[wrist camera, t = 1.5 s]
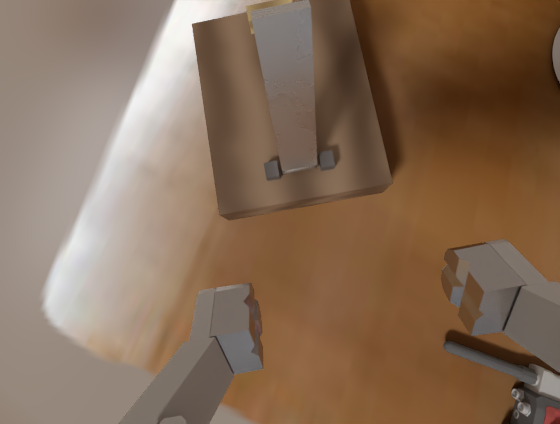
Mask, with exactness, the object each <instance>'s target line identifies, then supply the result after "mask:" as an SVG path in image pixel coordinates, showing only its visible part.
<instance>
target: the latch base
mask: <svg viewBox="0 0 560 424" xmlns="http://www.w3.org/2000/svg"><path fill="white" fill-rule="evenodd" d="M287 3H292V0H274V1H269V2H264V3H259V4H255V5H250V6H246V9H247V13H242V14H237V15H232V16H228V17H223V18H218V19H213V20H208V21H204V22H199V23H194V24H192V27H193V34H194V41H195V48H196V55H197V62H198V69H199V76H200V83H201V90H202V97H203V104H204V111H205V118H206V125H207V132H208V139H209V146H210V153H211V160H212V167H213V174H214V181H215V188H216V195H217V202H218V209H219V215H221V216H222V217H224V218H226V219H228V220H234V219H239V218H245V217H250V216H256V215H261V214H267V213H272V212H278V211H283V210H289V209H294V208H300V207H305V206H311V205H316V204H322V203H327V202H333V201H338V200H344V199H349V198H355V197H360V196H366V195H371V194H377V193H382V192H383V191H384V190H386V189H387V188H388V187H389V186H390V185H391V184H392V183H393V182H392V178H391V174H390V169H389V165H388V161H387V157H386V152H385V148H384V144H383V140H382V135H381V131H380V127H379V123H378V118H377V114H376V110H375V106H374V101H373V97H372V93H371V89H370V84H369V80H368V76H367V72H366V67H365V63H364V59H363V55H362V51H361V46H360V42H359V38H358V34H357V29H356V25H355V21H354V17H353V12H352V8H351V4H350V0H309V3H310V6H311V18H312V44H313V69H314V94H315V119H316V144H317V168H313V169H307V170H302V171H297V172H291V173H286V174H283V173H282V168H281V163H280V158H279V153H278V148H277V143H276V138H275V134H274V129H273V124H272V119H271V114H270V109H269V104H268V99H267V94H266V89H265V84H264V79H263V74H262V69H261V64H260V59H259V54H258V49H257V44H256V39H255V34H254V29H253V24H252V19H251V13H250V11H254V10H259V9H263V8H268V7H273V6H278V5H283V4H287Z"/></svg>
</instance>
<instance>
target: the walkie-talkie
mask: <svg viewBox="0 0 560 424" xmlns="http://www.w3.org/2000/svg"><path fill="white" fill-rule="evenodd" d="M444 348H445V350H446V351H447V352H449V353H452V354H455V355H458V356H460V357H463V358H466V359H468V360H471V361H474V362H477V363H479V364H482V365H485V366H487V367H490V368H493V369H496V370H498V371H501V372H504V373H506V374H509V375H512V376H515V377H516V378H517V379H518V380H520V381H522V382H525V383H524V387H520V388H518V389H515V388H514V389H513V390H512V392H511V394H512V397H513V398H515V399H516V401H515V405H514V409H513V413H512V417H511V421H510V424H560V375H557V374H555V373H552V372H551V371H549V370H547V369H545V368H542V367H540V366H538V365H535V364H532V363H530V364H529V367H525V366H522V365H518V366H517V365H515V364H512V363H509V362H507V361H504V360H501V359H498V358H496V357H493V356H490V355H488V354H485V353H482V352H480V351H477V350H474V349H471V348H469V347H466V346H463V345H461V344H458V343H455V342H452V341H446V342H445V343H444Z"/></svg>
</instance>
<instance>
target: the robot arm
mask: <svg viewBox="0 0 560 424" xmlns="http://www.w3.org/2000/svg"><path fill="white" fill-rule="evenodd" d="M552 58H553V65H554V70H555V73H556V76H557V78H558V80H559V82H560V28H559V30H558V31H557V34H556V36H555V39H554V43H553V50H552ZM444 260H445V261H446V263H447V265H446V266H445V268H444V269H443V270H442V274H441V281H442V287H443V290H444V292H445V294H446V296H447V298H448V300H449V301H450V302H451V303H453V304H454V305H456V306H458V307H459V313H458V316H459V318H460V319H461V321H462V322H463V324H464V325H465V327H466V329H467V330H468V332H469V333H470V335H471V336H474V335H481V334H489V333H496V332H503V333H504V334H505V335H506V336H508V337H509V338H511V339H512V340H514V341H515V342H516V343H518V344H519V345H521V346H522V347H523V348H525V349H526V350H528V351H529V352H531V353H532V354H533V355H535V356H536V357H538V358H539V359H541V360H542V361H543V362H545V363H546V364H548V365H549V366H551V367H552V368H553V369H555V370H556V371H558V372H559V373H560V283H558V282H555V281H553V282H548V281H547V280H546V279H545V278H544V277H543V276H542V275H541V274H540V273H539V272H538V271H537V270H536V269H535V268H534V267H533V266H532V265H531V264H530V263H529V262H528V261H527V260H526V259H525V258H524V257H523V256H522V255H521V254H520V253H519V252H518V251H517V250H516V249H515V248H514V247H513V245H512V244H511V243H510V242H508V241H507V240H504V239H501V240H495V241H489V242H484V243H477V244H472V245H466V246H461V247H455V248H450V249H447V251H446V252H445V256H444ZM261 334H262V320H261V312H260V308H259V304H258V301H257V300H255V297H254V288H253V286H252V283H246V284H239V285H232V286H225V287H218V288H213V289H206V290H200V291H199V293H198V295H197V300H196V305H195V311H194V317H193V323H192V328H191V334H190V340H189V341H187V342H184V343H183V344H182V345H181V346H180V348H179V349H178V350H177V351H176V353H175V354H174V355H173V356H172V358H171V359H170V360H169V361H168V363H167V364H166V365H165V366H164V368H163V369H162V370H161V371H160V373H159V374H158V375H157V376H156V378H155V379H154V380H153V381H152V383H151V384H150V385H149V386H148V388H147V389H146V390H145V391H144V392H143V394H142V395H141V396H140V397H139V399H138V400H137V401H136V402H135V404H134V405H133V406H132V407H131V409H130V410H129V411H128V412H127V414H126V415H125V416H124V417H123V419H122V420H121V421H120V422H119V424H209V423H210V421H211V419H212V417H213V415H214V414H215V412H216V410H217V408H218V406H219V404H220V402H221V400H222V398H223V396H224V395H225V393H226V391H227V389H228V387H229V385H230V383H231V381H232V379H233V378H234V374H239V373H244V372H249V371H255V370H260V369H263V346H262V343H261V340H260V336H261Z"/></svg>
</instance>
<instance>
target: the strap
mask: <svg viewBox="0 0 560 424" xmlns="http://www.w3.org/2000/svg"><path fill="white" fill-rule="evenodd" d="M250 13H251V19H252V24H253V29H254V34H255V39H256V44H257V49H258V54H259V59H260V64H261V69H262V74H263V79H264V84H265V89H266V94H267V99H268V104H269V109H270V114H271V119H272V124H273V129H274V134H275V138H276V143H277V148H278V153H279V158H280V163H281V168H282V173H283V174H286V173H291V172H297V171H302V170H307V169H313V168H317V144H316V119H315V94H314V69H313V44H312V18H311V6H310V3H309V0H302V1H297V2H292V3H287V4H283V5H278V6H273V7H268V8H263V9H259V10H254V11H250Z"/></svg>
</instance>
